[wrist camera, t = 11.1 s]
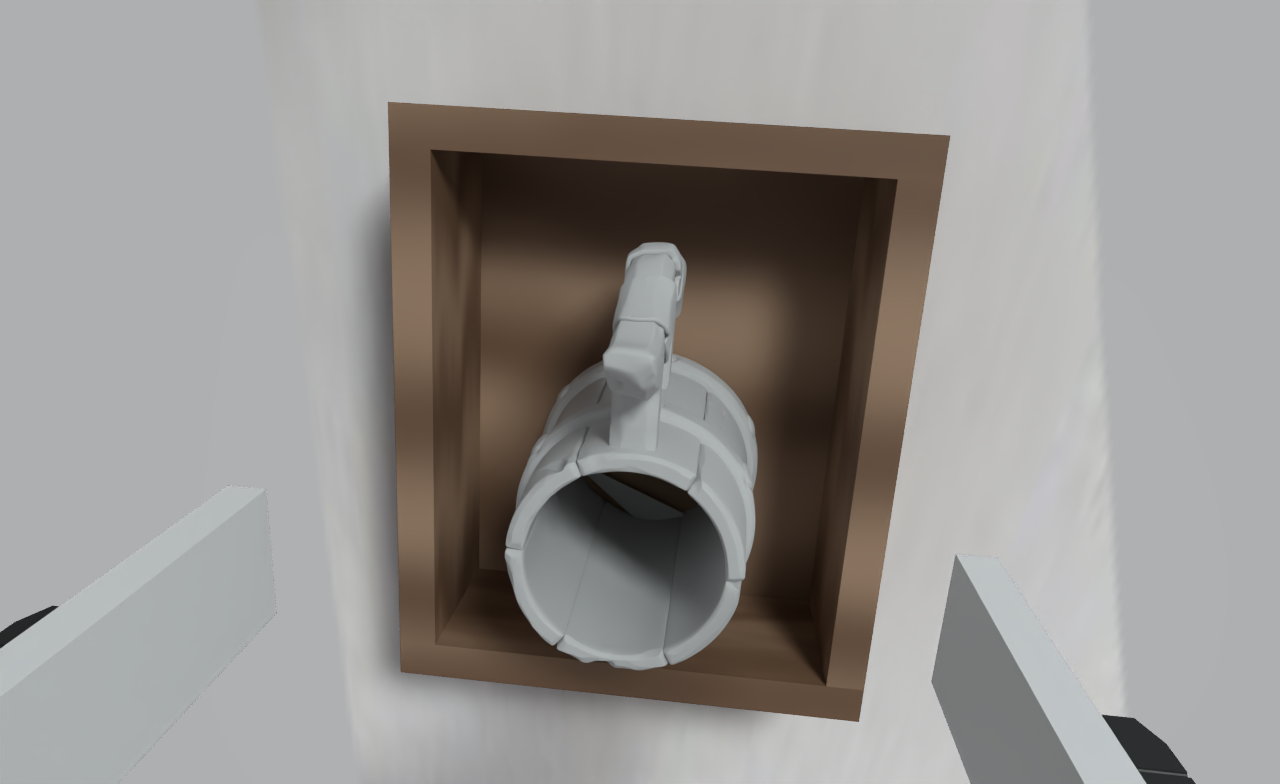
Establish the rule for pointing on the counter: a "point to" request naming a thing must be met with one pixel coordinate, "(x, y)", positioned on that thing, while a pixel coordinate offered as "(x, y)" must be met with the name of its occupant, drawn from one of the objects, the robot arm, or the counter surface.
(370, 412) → the counter surface
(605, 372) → the mug
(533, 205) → the wooden box
